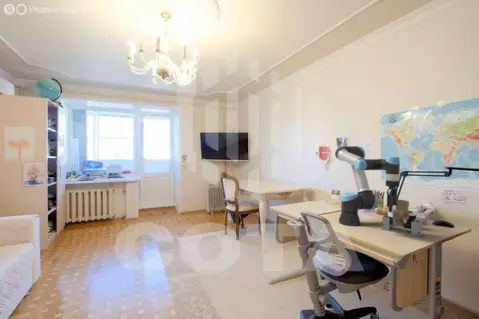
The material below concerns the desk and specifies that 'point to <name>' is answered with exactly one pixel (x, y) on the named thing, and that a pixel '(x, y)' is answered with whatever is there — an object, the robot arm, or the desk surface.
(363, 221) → the desk surface
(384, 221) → the bracket
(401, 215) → the wooden cylinder
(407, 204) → the plant pot
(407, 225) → the coffee mug
